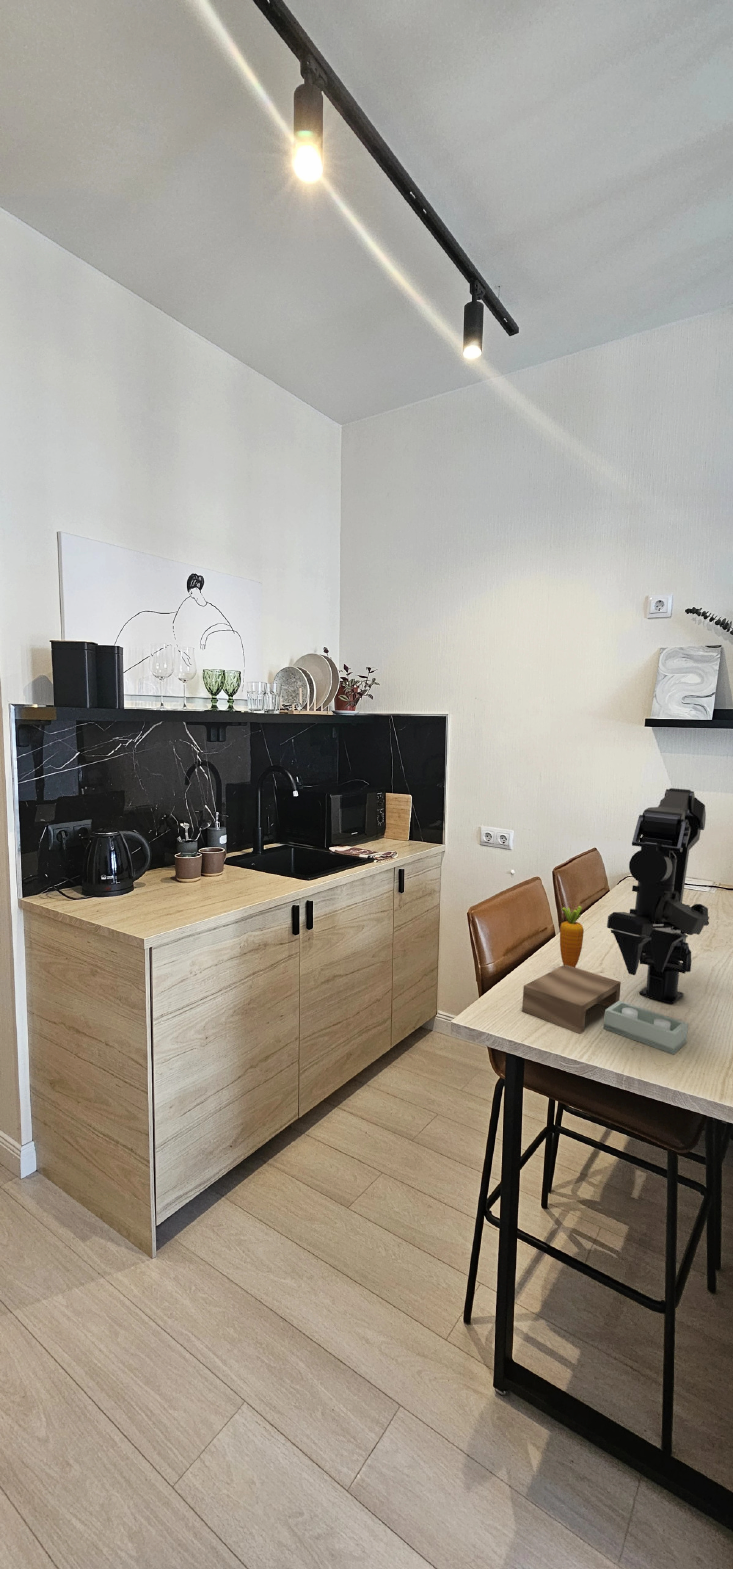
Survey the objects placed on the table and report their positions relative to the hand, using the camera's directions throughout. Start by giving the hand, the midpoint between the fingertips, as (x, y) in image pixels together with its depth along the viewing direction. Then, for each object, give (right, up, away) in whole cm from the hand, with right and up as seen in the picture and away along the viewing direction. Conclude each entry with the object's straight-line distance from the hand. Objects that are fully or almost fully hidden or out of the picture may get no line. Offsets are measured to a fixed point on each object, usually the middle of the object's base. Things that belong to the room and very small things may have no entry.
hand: (645, 972), depth 114 cm
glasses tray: (0, -11, +2) cm, 12 cm away
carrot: (-5, -9, +29) cm, 30 cm away
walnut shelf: (-9, -10, +11) cm, 18 cm away
